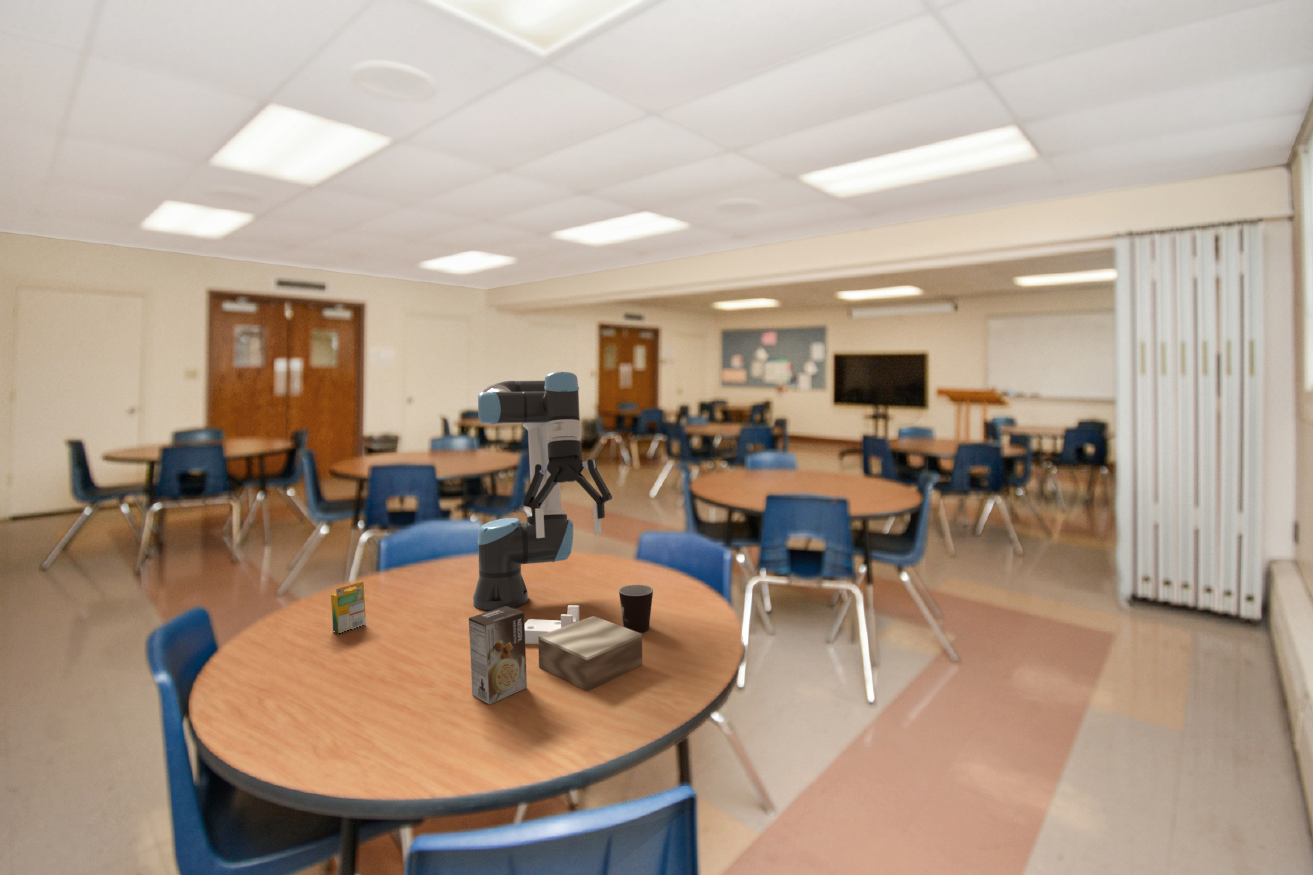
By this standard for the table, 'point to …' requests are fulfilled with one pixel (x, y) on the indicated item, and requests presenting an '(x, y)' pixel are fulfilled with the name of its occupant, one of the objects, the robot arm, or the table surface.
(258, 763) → the table surface
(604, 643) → the riser block
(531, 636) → the bracket
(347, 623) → the crayon box
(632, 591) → the coffee mug
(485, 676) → the coffee box
